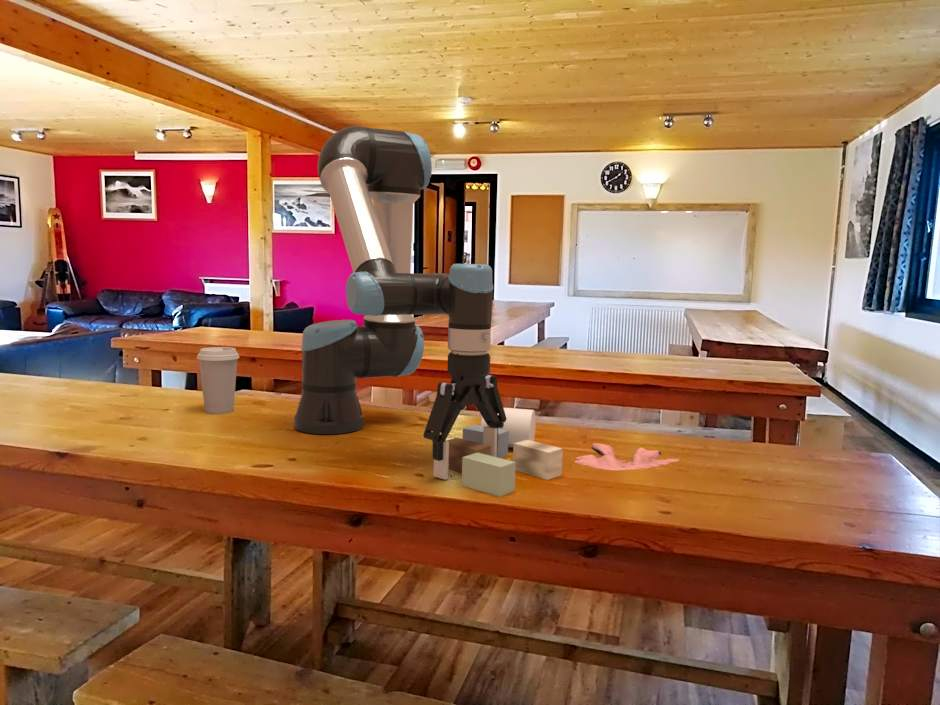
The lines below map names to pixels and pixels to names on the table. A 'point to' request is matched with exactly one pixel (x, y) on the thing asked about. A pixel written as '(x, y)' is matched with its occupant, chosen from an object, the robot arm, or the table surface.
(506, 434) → the slate brick
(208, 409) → the coffee cup
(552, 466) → the birch brick
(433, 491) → the table surface
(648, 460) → the cloth
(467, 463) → the sage brick
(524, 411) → the mug
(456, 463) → the walnut brick
